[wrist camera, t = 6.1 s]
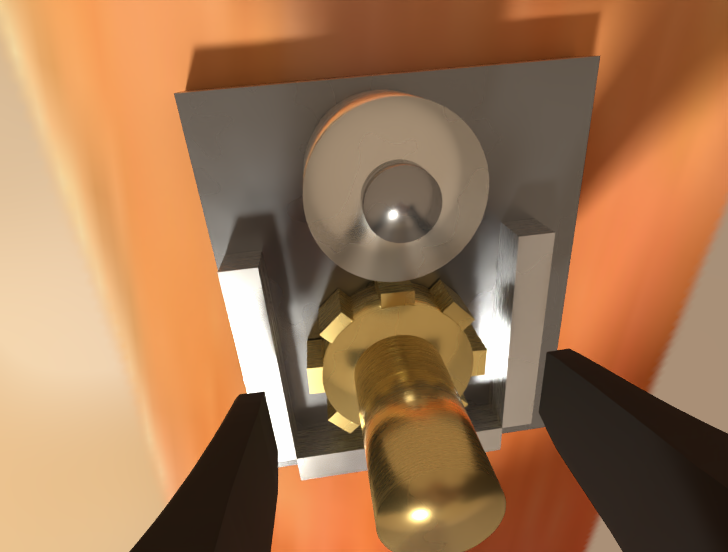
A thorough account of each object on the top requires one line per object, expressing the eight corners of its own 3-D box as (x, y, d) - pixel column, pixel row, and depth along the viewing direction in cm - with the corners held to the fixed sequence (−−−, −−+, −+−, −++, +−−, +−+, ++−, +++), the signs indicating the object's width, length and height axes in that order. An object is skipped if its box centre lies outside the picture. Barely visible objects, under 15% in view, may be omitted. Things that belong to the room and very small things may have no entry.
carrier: (533, 408, 17) (594, 500, 14) (269, 447, 17) (259, 555, 13) (578, 56, 12) (700, 54, 8) (184, 91, 11) (124, 104, 7)
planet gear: (465, 397, 15) (549, 577, 10) (315, 414, 15) (320, 612, 9) (475, 261, 13) (592, 400, 8) (299, 277, 13) (293, 434, 7)
